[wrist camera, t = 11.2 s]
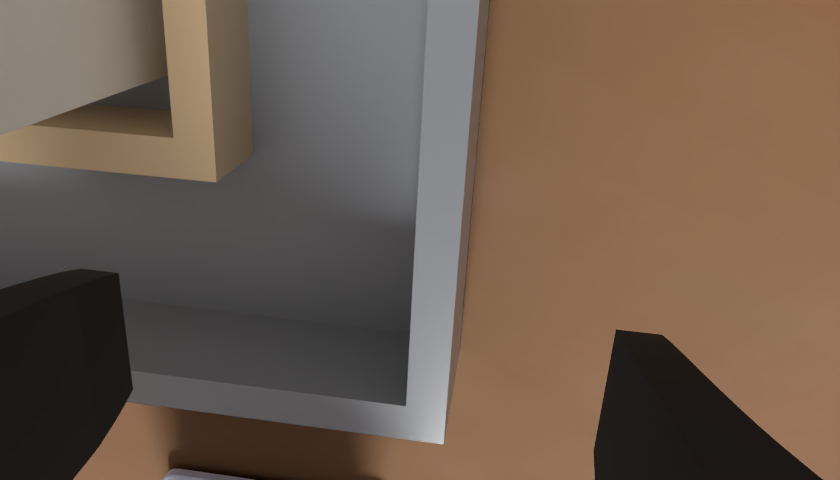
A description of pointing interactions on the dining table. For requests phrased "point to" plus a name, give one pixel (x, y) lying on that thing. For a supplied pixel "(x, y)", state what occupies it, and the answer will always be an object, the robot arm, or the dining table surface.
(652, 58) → the dining table surface
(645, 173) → the dining table surface
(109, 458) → the dining table surface
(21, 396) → the robot arm
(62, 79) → the plug
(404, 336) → the box
